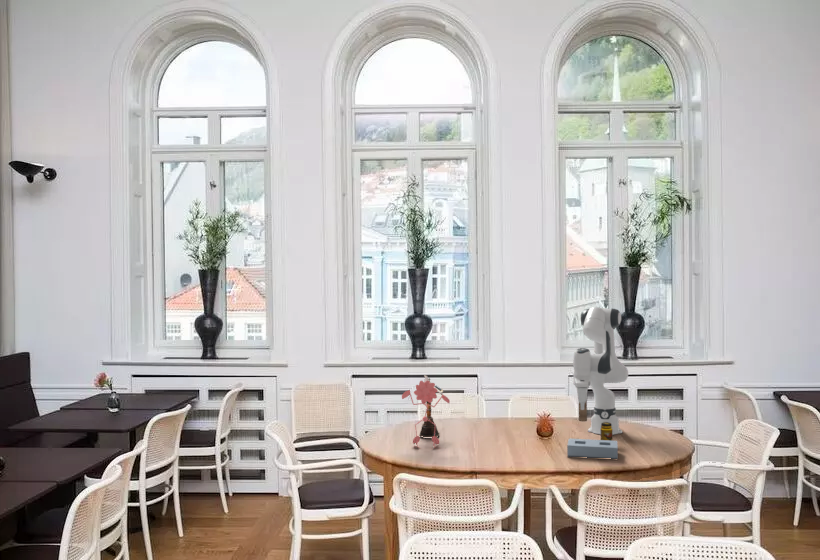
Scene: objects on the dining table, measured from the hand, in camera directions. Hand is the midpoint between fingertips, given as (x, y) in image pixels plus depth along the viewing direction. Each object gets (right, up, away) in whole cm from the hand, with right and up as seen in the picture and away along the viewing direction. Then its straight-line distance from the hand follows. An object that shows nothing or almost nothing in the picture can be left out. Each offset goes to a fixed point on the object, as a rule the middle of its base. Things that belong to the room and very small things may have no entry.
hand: (582, 408), depth 357 cm
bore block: (+5, -23, -1) cm, 24 cm away
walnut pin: (0, -6, 0) cm, 6 cm away
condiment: (+16, -23, +17) cm, 33 cm away
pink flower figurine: (-78, -24, +23) cm, 85 cm away
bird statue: (-73, -23, +43) cm, 88 cm away
